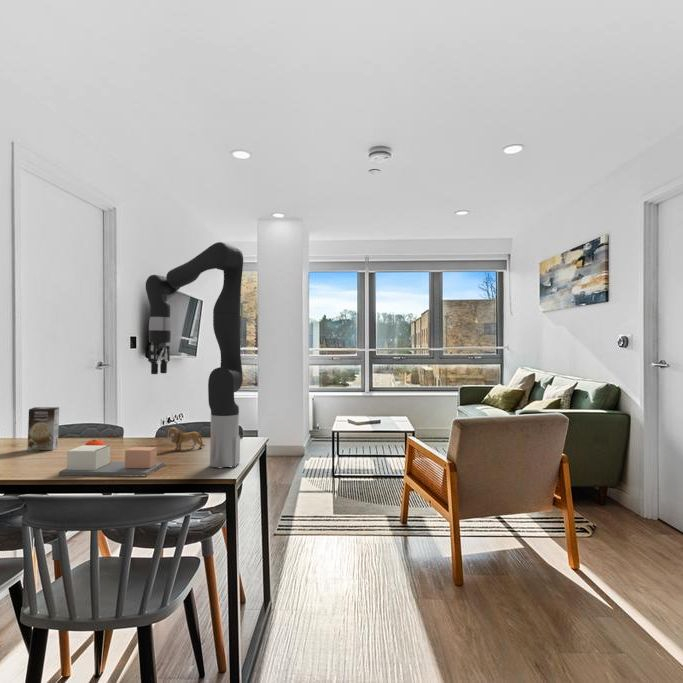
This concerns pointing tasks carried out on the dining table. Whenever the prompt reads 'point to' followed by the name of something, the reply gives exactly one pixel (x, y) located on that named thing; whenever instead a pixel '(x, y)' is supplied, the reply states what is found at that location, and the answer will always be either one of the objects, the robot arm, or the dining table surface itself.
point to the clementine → (95, 442)
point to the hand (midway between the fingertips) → (159, 373)
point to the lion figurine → (183, 437)
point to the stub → (140, 457)
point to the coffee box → (43, 428)
